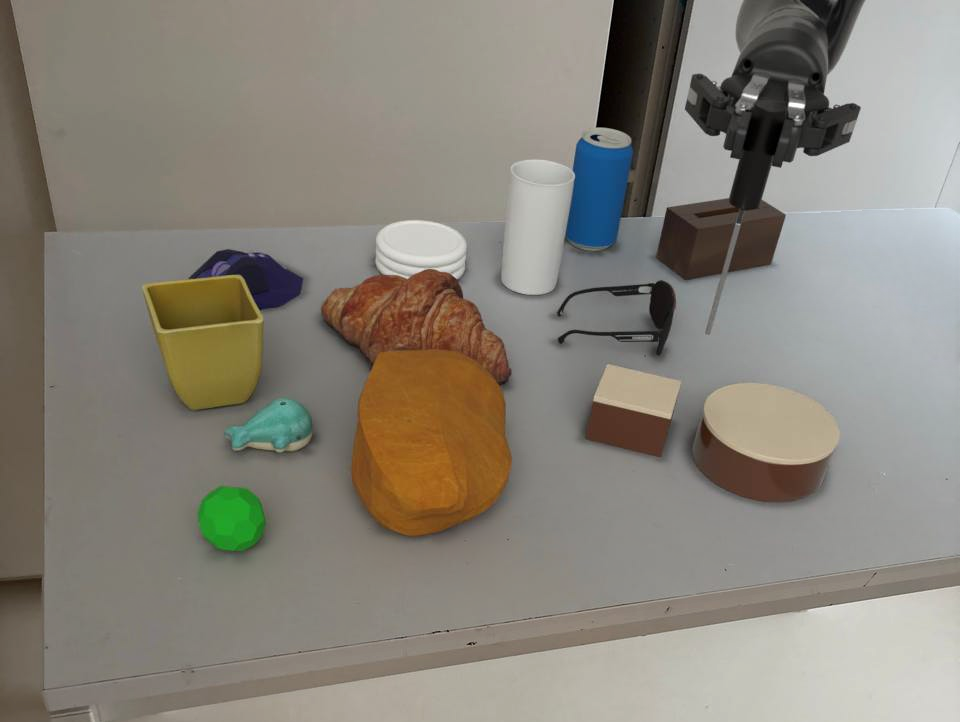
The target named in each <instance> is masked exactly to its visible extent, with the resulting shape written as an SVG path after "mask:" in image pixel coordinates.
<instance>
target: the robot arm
mask: <svg viewBox="0 0 960 722" xmlns="http://www.w3.org/2000/svg"><path fill="white" fill-rule="evenodd" d="M865 3H866V0H743V1H742V3H741V5H740V8H739V10H738V14H737V17H736V23H735V42H736V45H737V48H738V50H739V56H738V58H737V60H736V64H735V65H734V69H733V71H732V74H731V76H729V77H726V78H725V79H723V81H722V82H721V83H720V85H717V84H718V83H717V81H716V80H710V78H709V77H708V76H707V75H704V73H693V74H692V75H691V78H690V83H689V87H688V92H687V97H686V102H685V106H684V111H685V112H686V113H687V114H688V115H689V116H690V118H691V119H692V120H693V121H694V122H695V123H696V124H697V126H698V127H699V128H700V129H701V130H702V131H703V133H705V135H708V136H710V137H719V136H720V135H721V132H722V133H724V134H725V136H724V137H725V138H724V142H723V145H722V146H723V150H725V151H730V156H729V158H732V159H736V160H739V159H740V156H741V153H742V150H743V146H744V142H745V138H746V135H747V131H748V127H749V123H750V120H751V114H752V110H753V107H754V103H755V102H756V101H758V100H772V101H776V102H780V103H782V104H784V105H785V106H787V108H788V110H787V114H786V117H785V121H784V123H783V126H782V130H781V133H780V137H779V140H778V144H777V147H776V151H775V154H774V158H773V162H772V165H771V167H774V168H780V169H781V168H782V166H783V163H784V162H785V163H789V164H790V163H792V162H794V160H795V156H796V153H797V149H803V151H802V153H803V154H805V155H806V156H809V157H818V156H820V155H822V154H826V153H827V152H830V151H832V150H834V149H837V148H839V147H841V146H844V145H845V144H846V145H847V144H848V143H850V142H851V139H852V135H853V132H854V130H855V127H856V124H857V122H858V118H859V115H860V112H861V109H862V107H861V105H858V104H857V103H855V102H851V103H845V104H842V105H840V104H834V105H833V107H830V100H829V98H828V97H827V96H826V95H825V92H826V91H825V90H826V82H827V78H828V76H829V74H831V72H832V71H833V70H834V69H835V68H836V66H837V65H838V63H839V62H840V60H841V58H842V55H843V54H844V52H845V49H846V47H847V45H848V42H849V40H850V37H851V35H852V33H853V31H854V27H855V25H856V23H857V21H858V18H859V15H860V14H861V10H862V9H863V6H864V5H865Z"/></svg>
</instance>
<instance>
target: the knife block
mask: <svg viewBox="0 0 960 722" xmlns="http://www.w3.org/2000/svg"><path fill="white" fill-rule="evenodd" d="M739 210H740V208H737V207H734V206H733V205H731V204H730V203H729V197H728V198H726V197H725V198H721V199H714V200H713V199H712V200H708V201H701V202H700V201H699V202H694V203H687V204H679V205H673V206H667V207H666V209H665V214H664V217H663V222H662V227H661V231H660V232H661V233H660V236H659V242H658V246H657V250H656V254H655V258H656V259H657V260H658V261H660V262H661V263H662V264H663V265H665V266H666V267H667V268H669V269H670V270H671V271H673V272H674V273H675V274H676V275H678V276H679V277H680V278H682V279H683V280H685V281H689V280H693V279H699V278H704V277H709V276H715V275H721V274H722V271H723V267H724V263H725V260H726V256H727V253H728V249H729V245H730V242H731V238H732V235H733V231H734V227H735V224H736V220H737V217H738V213H739ZM786 216H787V214H785V213H784V212H783V211H781V210H779V209H778V208H776V207H775V206H773V205H771V204H770V203H768V202H767V201H765V200H764V199H762V200H761V203H760V206H759V208H758V209H755V210H745V211H744V215H743V219H742V222H741V226H740V230H739V233H738V237H737V240H736V244H735V247H734V251H733V255H732V258H731V262H730V265H729V269H728V272H727V273H732V272H736V271H742V270H748V269H754V268H757V267H762V266H768V265H769V266H770V265H772V263H773V259H774V255H775V253H776V249H777V246H778V242H779V239H780V236H781V233H782V230H783V226H784V224H785V220H786Z"/></svg>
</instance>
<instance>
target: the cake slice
mask: <svg viewBox="0 0 960 722" xmlns="http://www.w3.org/2000/svg"><path fill="white" fill-rule="evenodd" d="M681 385H682V380H678V379H674V378H670V377H665V376H661V375H657V374H652V373H648V372H645V371H640V370H636V369H631V368H628V367H627V368H626V367H623V366H617V365H614V364H609V363H607V364H606V366H605V368H604V371H603V373H602V375H601V378H600V380H599V383H598V386H597V388H596V390H595V394H594V395H593V399H592V404H591V409H590V414H589V418H588V419H589V420H588V423H587V430H586V433H585V434H586V435H585V440H589V441H592V442H596V443H601V444H605V445H609V446H613V447H618V448H622V449H626V450H629V451H633V452H638V453H642V454H646V455H651V456H655V457H659V458H661V457H662V453H663V451H664V448H665V445H666V440H667V437H668V433H669V430H670V426H671V423H672V420H673V416H674V413H675V408H676V404H677V401H678V397H679V394H680V390H681Z"/></svg>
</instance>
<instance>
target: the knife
mask: <svg viewBox="0 0 960 722" xmlns="http://www.w3.org/2000/svg"><path fill="white" fill-rule="evenodd" d="M787 110H788V108H787V106H785V105H784V104H782V103H780V102H776V101H772V100H758V101H756V102H755V103H754V107H753V110H752V114H751V120H750V123H749V127H748V131H747V135H746V138H745V142H744V146H743V150H742V153H741V156H740V159H738V163H737V167H736V171H735V175H734V178H733V182H732V185H731V189H730V193H729V197H728V198H729V203H730V204H731V205H733V206H734V207H737V208H740V210H739V213H738V217H737V220H736V224H735V227H734V231H733V235H732V238H731V242H730V245H729V249H728V253H727V256H726V260H725V263H724V267H723V271H722V273H721V274H720V277H719V282H718V286H717V289H716V292H715V295H714V300H713V304H712V306H711V311H710V314H709V317H708V322H707V325H706V329H705V333H704V334H705V335H711V333H712V328H713V326H714V322H715V318H716V315H717V311H718V307H719V304H720V301H721V297H722V294H723V293H722V292H723V290H724V286H725V283H726V280H727V279H726V278H727V275H728V273H729V272H728V269H729V265H730V262H731V258H732V255H733V251H734V247H735V244H736V240H737V237H738V233H739V230H740V226H741V222H742V219H743V215H744V211H745V210H755V209H758V208H759V206H760V203H761V200H763V196H764V192H765V190H766V185H767V182H768V179H769V175H770V172H771V168H772V162H773V158H774V154H775V151H776V147H777V144H778V140H779V137H780V133H781V130H782V126H783V123H784V121H785V117H786V114H787Z"/></svg>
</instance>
